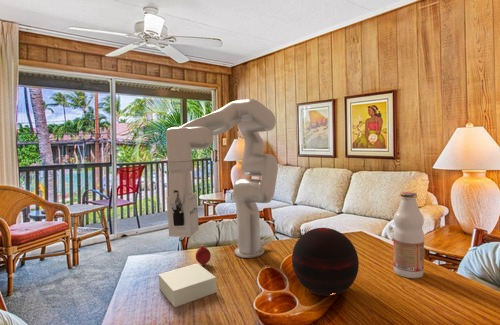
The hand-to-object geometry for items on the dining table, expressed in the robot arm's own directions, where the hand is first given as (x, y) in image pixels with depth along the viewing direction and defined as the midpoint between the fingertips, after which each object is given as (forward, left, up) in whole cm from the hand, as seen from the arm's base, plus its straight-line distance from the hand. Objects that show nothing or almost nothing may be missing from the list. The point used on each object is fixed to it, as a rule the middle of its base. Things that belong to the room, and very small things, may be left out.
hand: (183, 221), depth 97 cm
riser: (0, 0, -23) cm, 23 cm away
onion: (-13, -15, -23) cm, 31 cm away
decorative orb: (-34, +28, -23) cm, 50 cm away
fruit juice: (-66, +37, -23) cm, 79 cm away
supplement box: (0, 0, -4) cm, 4 cm away
